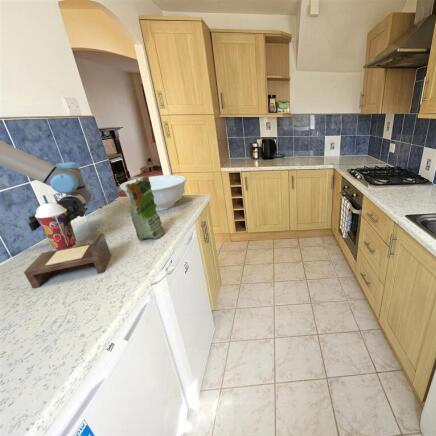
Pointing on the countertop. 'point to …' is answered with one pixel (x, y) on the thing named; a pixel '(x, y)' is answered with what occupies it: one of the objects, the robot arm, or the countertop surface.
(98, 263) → the shelf
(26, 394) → the countertop surface
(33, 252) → the countertop surface
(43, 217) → the smoothie
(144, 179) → the pouch
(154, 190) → the bowl
